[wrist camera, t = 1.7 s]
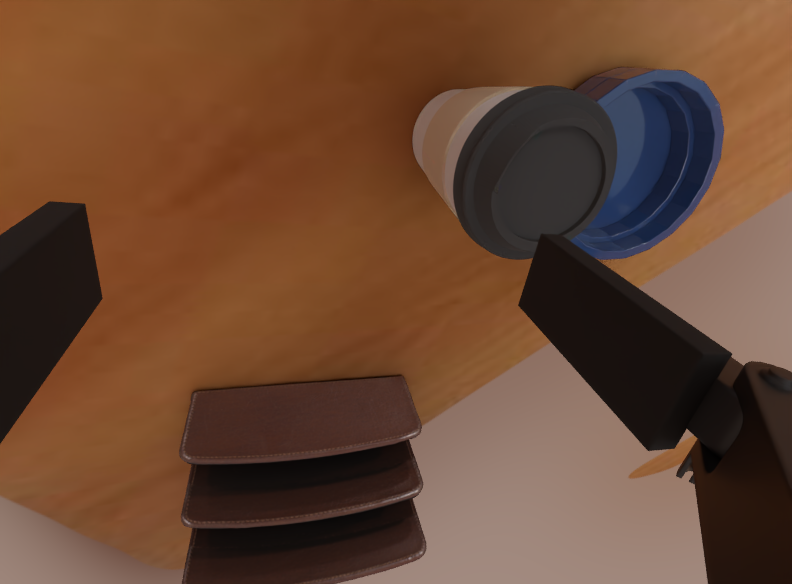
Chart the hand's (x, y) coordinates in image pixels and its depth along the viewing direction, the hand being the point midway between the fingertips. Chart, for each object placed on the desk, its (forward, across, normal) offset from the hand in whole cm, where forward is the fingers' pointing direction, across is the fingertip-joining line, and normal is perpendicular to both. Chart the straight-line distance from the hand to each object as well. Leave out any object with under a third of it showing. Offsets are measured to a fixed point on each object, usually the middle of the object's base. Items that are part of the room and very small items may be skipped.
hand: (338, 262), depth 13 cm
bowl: (+22, +25, 0) cm, 34 cm away
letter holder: (+22, +1, -28) cm, 35 cm away
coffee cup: (+22, +11, +1) cm, 25 cm away
